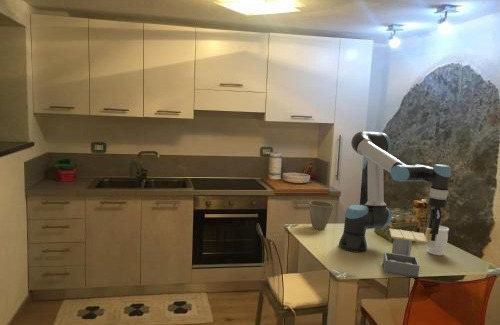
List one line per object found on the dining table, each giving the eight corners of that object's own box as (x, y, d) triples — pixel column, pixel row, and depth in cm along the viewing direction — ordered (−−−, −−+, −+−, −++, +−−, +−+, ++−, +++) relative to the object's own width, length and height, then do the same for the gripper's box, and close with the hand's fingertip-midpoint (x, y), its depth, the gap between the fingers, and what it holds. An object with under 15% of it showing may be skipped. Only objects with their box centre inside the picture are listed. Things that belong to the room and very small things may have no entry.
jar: (447, 257, 227) (451, 231, 225) (427, 254, 229) (431, 228, 226) (442, 251, 237) (446, 225, 235) (423, 248, 239) (427, 223, 237)
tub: (384, 272, 198) (386, 260, 197) (382, 263, 210) (384, 252, 209) (417, 278, 195) (419, 265, 194) (414, 268, 206) (416, 257, 206)
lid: (391, 237, 196) (392, 227, 195) (389, 230, 209) (390, 220, 208) (438, 244, 191) (439, 233, 190) (433, 236, 204) (434, 226, 203)
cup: (396, 252, 228) (399, 231, 227) (412, 257, 222) (415, 236, 220) (388, 255, 222) (391, 234, 220) (404, 261, 216) (407, 239, 214)
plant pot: (306, 230, 256) (309, 205, 254) (307, 223, 271) (309, 199, 268) (330, 233, 254) (333, 207, 252) (330, 226, 268) (333, 202, 266)
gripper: (450, 202, 187) (442, 252, 190) (443, 195, 202) (436, 241, 205) (432, 200, 188) (425, 249, 192) (426, 193, 203) (420, 239, 207)
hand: (430, 245), depth 198 cm, fingers closed on lid, 3 cm apart
